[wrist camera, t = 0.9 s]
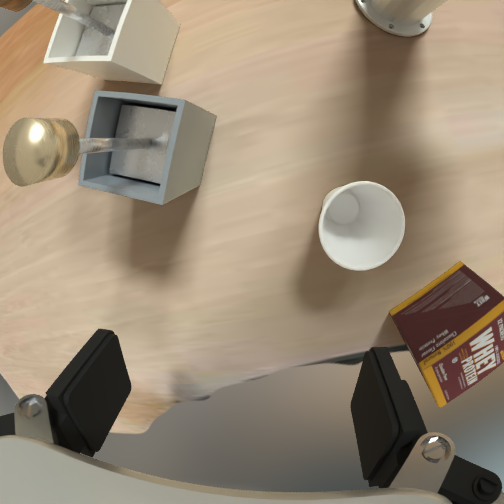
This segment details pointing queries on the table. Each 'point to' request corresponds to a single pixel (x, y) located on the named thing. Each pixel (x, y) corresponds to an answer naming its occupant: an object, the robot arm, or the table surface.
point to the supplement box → (453, 331)
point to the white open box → (119, 42)
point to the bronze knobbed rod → (96, 24)
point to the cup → (361, 225)
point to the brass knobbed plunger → (88, 146)
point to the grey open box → (178, 153)
